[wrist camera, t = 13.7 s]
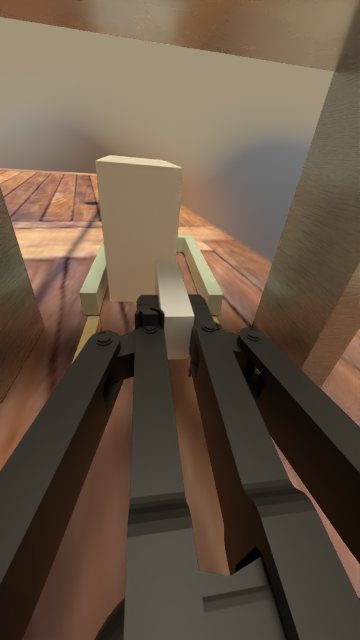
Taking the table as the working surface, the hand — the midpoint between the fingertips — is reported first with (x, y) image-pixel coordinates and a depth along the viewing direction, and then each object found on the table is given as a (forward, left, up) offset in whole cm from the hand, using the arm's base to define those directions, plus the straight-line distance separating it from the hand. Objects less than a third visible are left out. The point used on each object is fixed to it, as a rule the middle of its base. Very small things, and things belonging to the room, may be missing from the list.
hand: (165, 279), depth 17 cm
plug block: (-10, +12, -7) cm, 17 cm away
